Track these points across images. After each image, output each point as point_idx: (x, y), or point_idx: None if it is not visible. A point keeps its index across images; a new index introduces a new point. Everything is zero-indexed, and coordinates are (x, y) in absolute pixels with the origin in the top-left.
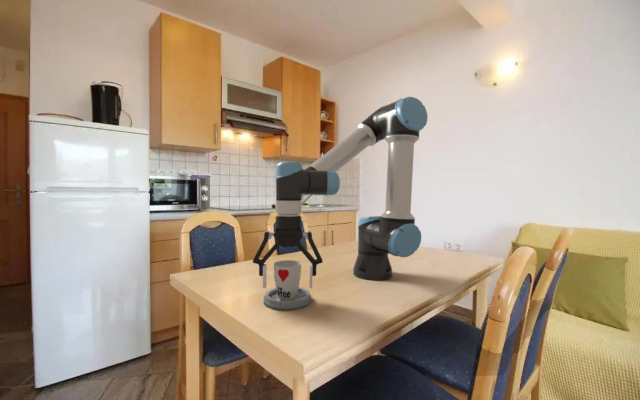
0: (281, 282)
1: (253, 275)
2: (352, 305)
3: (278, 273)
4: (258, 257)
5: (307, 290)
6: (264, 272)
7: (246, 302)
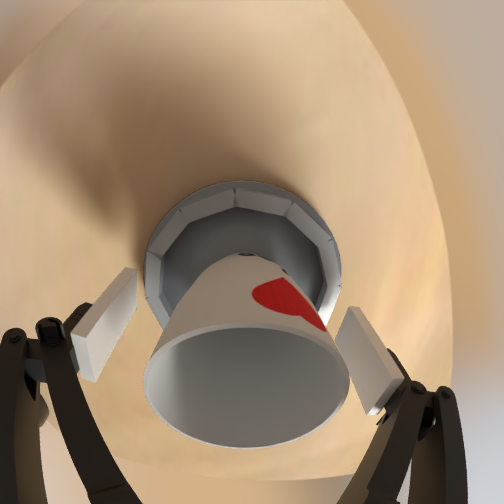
0: (291, 281)
1: (307, 454)
2: (32, 192)
3: (320, 319)
4: (443, 412)
5: (152, 309)
6: (382, 353)
7: (384, 291)
